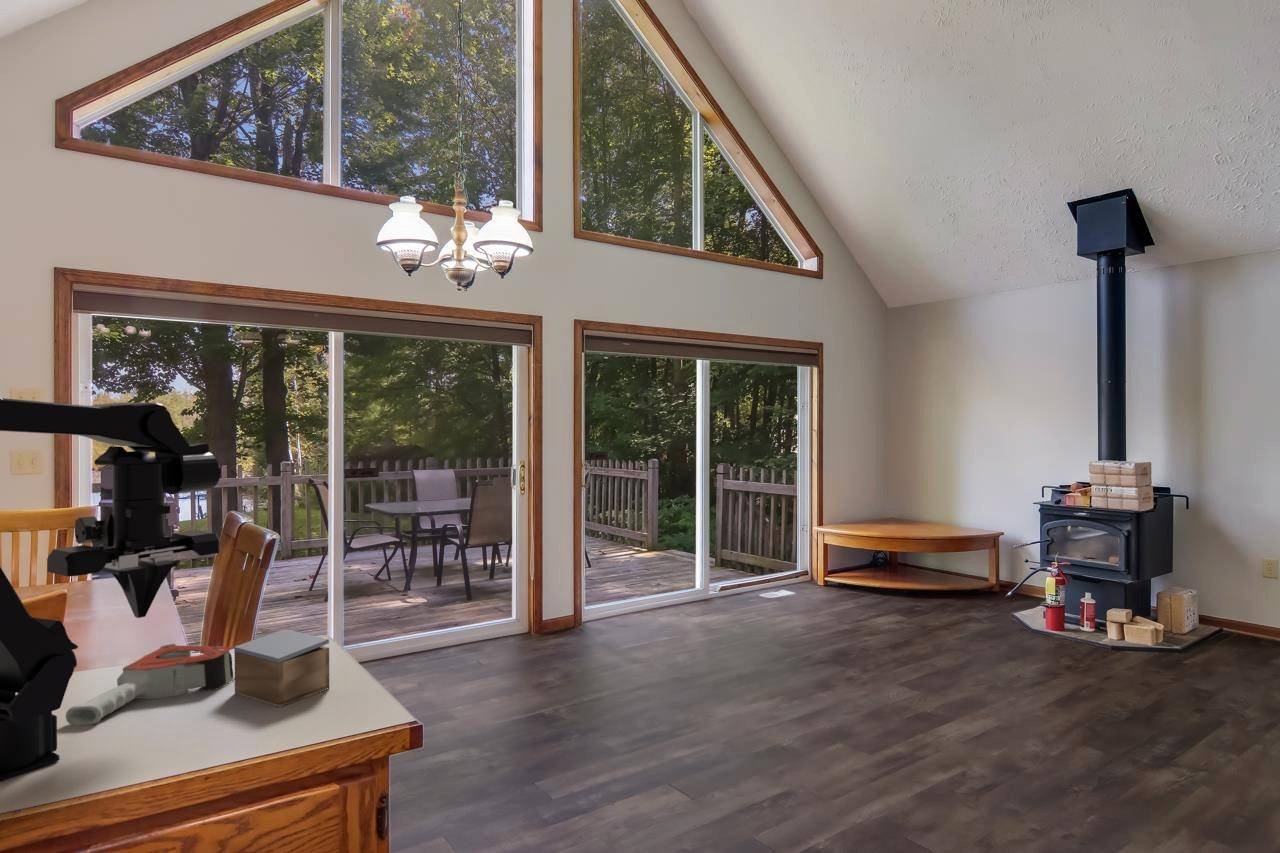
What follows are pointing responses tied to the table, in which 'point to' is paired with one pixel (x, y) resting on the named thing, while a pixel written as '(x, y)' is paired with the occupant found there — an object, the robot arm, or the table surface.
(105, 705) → the tape dispenser
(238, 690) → the box
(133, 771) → the table surface
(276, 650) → the lid
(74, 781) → the table surface
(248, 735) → the table surface
